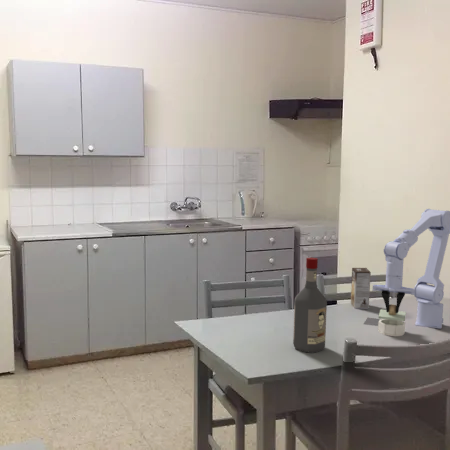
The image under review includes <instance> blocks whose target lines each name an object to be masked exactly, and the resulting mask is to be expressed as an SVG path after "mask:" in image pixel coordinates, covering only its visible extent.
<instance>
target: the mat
mask: <svg viewBox="0 0 450 450" xmlns="http://www.w3.org/2000/svg"><path fill="white" fill-rule="evenodd" d="M379 320H380V318H374V317H366V319H365V320H364V322H363V325H367V326H368V325H369V326H375V327H378V322H379Z"/></svg>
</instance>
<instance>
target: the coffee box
mask: <svg viewBox="0 0 450 450" xmlns="http://www.w3.org/2000/svg"><path fill="white" fill-rule="evenodd" d="M371 276H372V275H371V271H370V270H369V269H368V267H352V268H351V287H350V304H351V306H352V307H353V308H354V309H362V310H363V309H364V310H365V309H370V293H371V292H370V291H371Z"/></svg>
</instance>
